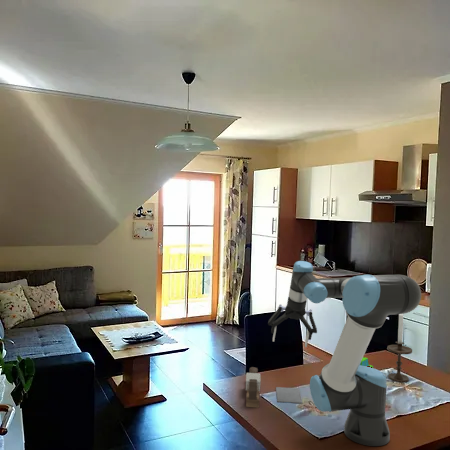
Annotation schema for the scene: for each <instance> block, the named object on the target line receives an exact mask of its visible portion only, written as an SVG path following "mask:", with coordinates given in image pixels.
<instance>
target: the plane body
mask: <svg viewBox="0 0 450 450" xmlns="http://www.w3.org/2000/svg"><path fill="white" fill-rule="evenodd" d="M258 371H259V369H258V367H254V366H251V367H249V372H248V373H259V372H258ZM245 397H246V398H245V399H246V400H245V401H246V403H245V407H246V408H260V391H257V379H249V391H247V390H246V396H245Z"/></svg>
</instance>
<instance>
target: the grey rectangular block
mask: <svg viewBox="0 0 450 450" xmlns="http://www.w3.org/2000/svg"><path fill="white" fill-rule="evenodd" d="M249 379H257V391H259V392H261V382H262V381H261V373H259V372H258V373H249V372H246V374H245V391H246V392H247V391H249Z"/></svg>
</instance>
